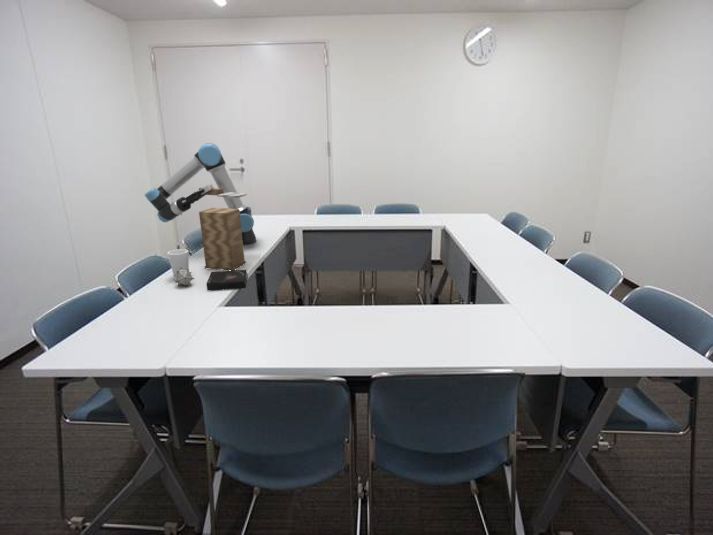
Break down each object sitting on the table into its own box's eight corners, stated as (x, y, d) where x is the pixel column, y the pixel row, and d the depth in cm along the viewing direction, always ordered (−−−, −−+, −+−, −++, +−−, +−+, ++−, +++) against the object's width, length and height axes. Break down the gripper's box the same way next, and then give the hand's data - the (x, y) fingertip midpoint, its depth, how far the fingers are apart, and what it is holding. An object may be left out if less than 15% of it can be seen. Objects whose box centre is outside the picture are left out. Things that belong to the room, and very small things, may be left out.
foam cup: (184, 281, 193) (180, 255, 189) (167, 279, 195) (163, 254, 191) (195, 274, 202) (192, 249, 198) (179, 273, 204) (175, 248, 199)
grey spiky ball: (183, 291, 190) (177, 272, 192) (199, 285, 190) (193, 266, 192) (172, 289, 181) (167, 269, 183) (189, 282, 181) (184, 262, 183)
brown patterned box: (204, 268, 211) (197, 212, 201) (218, 261, 223) (212, 207, 213) (233, 270, 207) (227, 213, 198) (245, 263, 219) (240, 209, 209)
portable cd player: (246, 289, 185) (245, 280, 183) (207, 291, 181) (206, 283, 180) (247, 277, 200) (247, 269, 199) (212, 279, 197) (211, 271, 195)
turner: (195, 195, 217) (195, 189, 216) (206, 192, 226) (205, 187, 225) (237, 197, 212) (237, 191, 211) (246, 195, 221) (246, 189, 220)
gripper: (193, 209, 235) (222, 190, 227) (175, 214, 220) (206, 195, 212) (186, 197, 234) (215, 178, 226) (168, 202, 219) (198, 182, 211)
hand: (211, 186), depth 219 cm, fingers closed on turner, 3 cm apart
